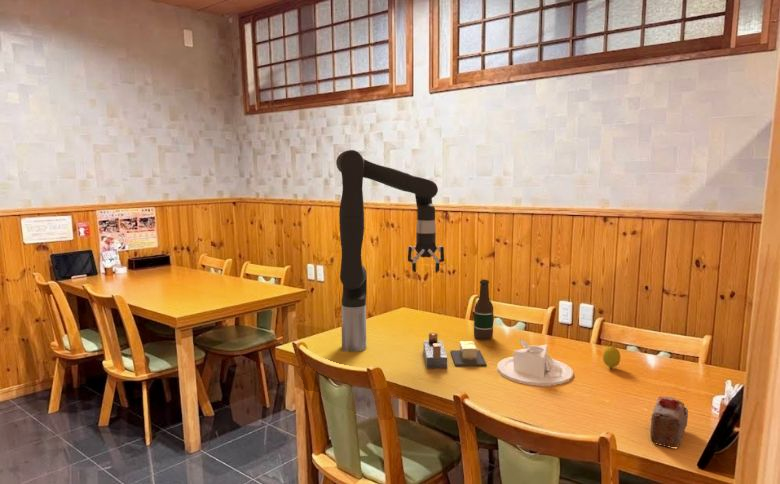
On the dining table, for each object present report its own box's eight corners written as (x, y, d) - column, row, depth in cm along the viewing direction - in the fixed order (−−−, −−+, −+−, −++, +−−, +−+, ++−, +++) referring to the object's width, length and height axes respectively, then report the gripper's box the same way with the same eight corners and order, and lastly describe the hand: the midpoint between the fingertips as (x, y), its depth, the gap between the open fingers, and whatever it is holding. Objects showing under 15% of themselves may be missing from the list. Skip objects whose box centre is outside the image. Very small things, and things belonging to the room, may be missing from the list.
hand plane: (447, 368, 180) (447, 346, 179) (426, 368, 180) (427, 346, 179) (441, 350, 198) (442, 330, 197) (423, 350, 198) (423, 330, 197)
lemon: (619, 366, 181) (621, 344, 180) (619, 372, 176) (620, 349, 175) (602, 364, 183) (603, 342, 182) (601, 369, 178) (603, 347, 177)
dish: (552, 393, 161) (554, 358, 159) (483, 372, 177) (484, 340, 176) (584, 371, 179) (586, 339, 177) (519, 354, 195) (519, 324, 194)
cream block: (462, 360, 185) (462, 348, 185) (459, 353, 193) (459, 341, 192) (476, 360, 185) (476, 348, 185) (473, 353, 193) (473, 341, 192)
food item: (653, 421, 142) (656, 387, 141) (687, 429, 138) (690, 393, 136) (647, 443, 131) (650, 406, 129) (684, 452, 126) (687, 414, 125)
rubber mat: (455, 366, 182) (455, 364, 182) (450, 352, 196) (450, 350, 196) (486, 366, 182) (486, 363, 182) (479, 352, 196) (479, 350, 196)
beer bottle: (494, 340, 210) (495, 282, 206) (475, 340, 210) (476, 282, 206) (491, 334, 217) (492, 278, 214) (472, 334, 217) (473, 278, 214)
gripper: (408, 232, 200) (408, 274, 202) (445, 232, 200) (444, 274, 202) (407, 230, 207) (407, 270, 209) (443, 230, 207) (442, 270, 209)
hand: (425, 272), depth 206 cm, fingers open, 8 cm apart
